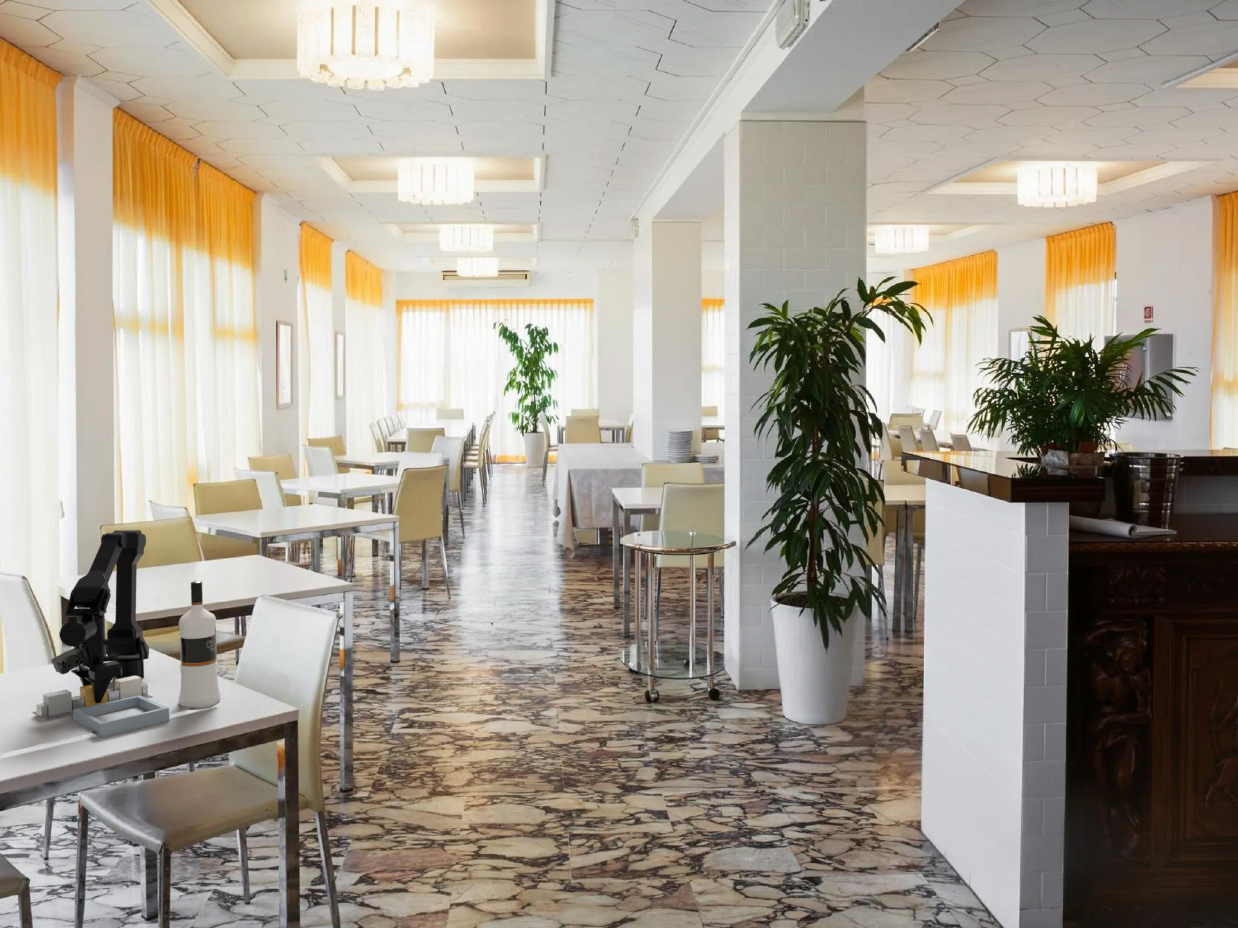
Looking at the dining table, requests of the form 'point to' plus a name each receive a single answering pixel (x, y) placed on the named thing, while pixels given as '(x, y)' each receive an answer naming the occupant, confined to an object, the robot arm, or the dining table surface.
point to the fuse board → (79, 703)
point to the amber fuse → (91, 696)
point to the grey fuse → (58, 702)
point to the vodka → (198, 654)
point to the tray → (123, 724)
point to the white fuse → (128, 687)
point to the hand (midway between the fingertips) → (94, 700)
